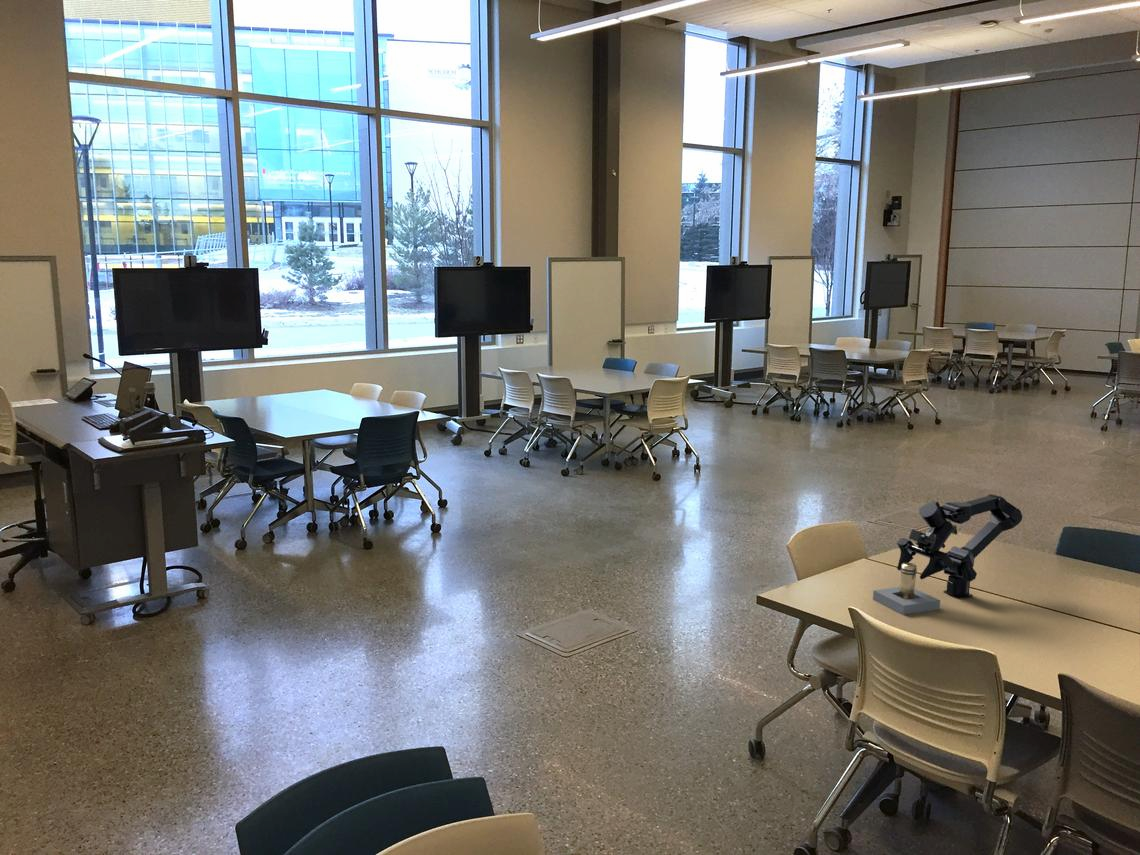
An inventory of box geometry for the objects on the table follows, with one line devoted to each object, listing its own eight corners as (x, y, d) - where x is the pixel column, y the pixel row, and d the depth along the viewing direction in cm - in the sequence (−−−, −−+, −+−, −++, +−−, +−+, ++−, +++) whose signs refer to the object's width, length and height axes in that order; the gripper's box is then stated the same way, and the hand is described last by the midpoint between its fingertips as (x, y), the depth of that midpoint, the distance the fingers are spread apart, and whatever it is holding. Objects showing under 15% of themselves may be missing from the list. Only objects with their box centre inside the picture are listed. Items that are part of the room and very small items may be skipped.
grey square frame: (907, 594, 288) (908, 585, 288) (939, 609, 275) (940, 600, 275) (872, 599, 283) (873, 590, 283) (903, 614, 271) (904, 605, 270)
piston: (911, 602, 282) (914, 562, 279) (915, 607, 277) (919, 567, 275) (896, 601, 282) (899, 562, 280) (900, 606, 277) (903, 567, 275)
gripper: (902, 513, 286) (874, 550, 283) (949, 528, 269) (920, 567, 266) (918, 534, 290) (891, 570, 288) (965, 550, 274) (937, 589, 271)
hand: (909, 574), depth 278 cm, fingers open, 9 cm apart
